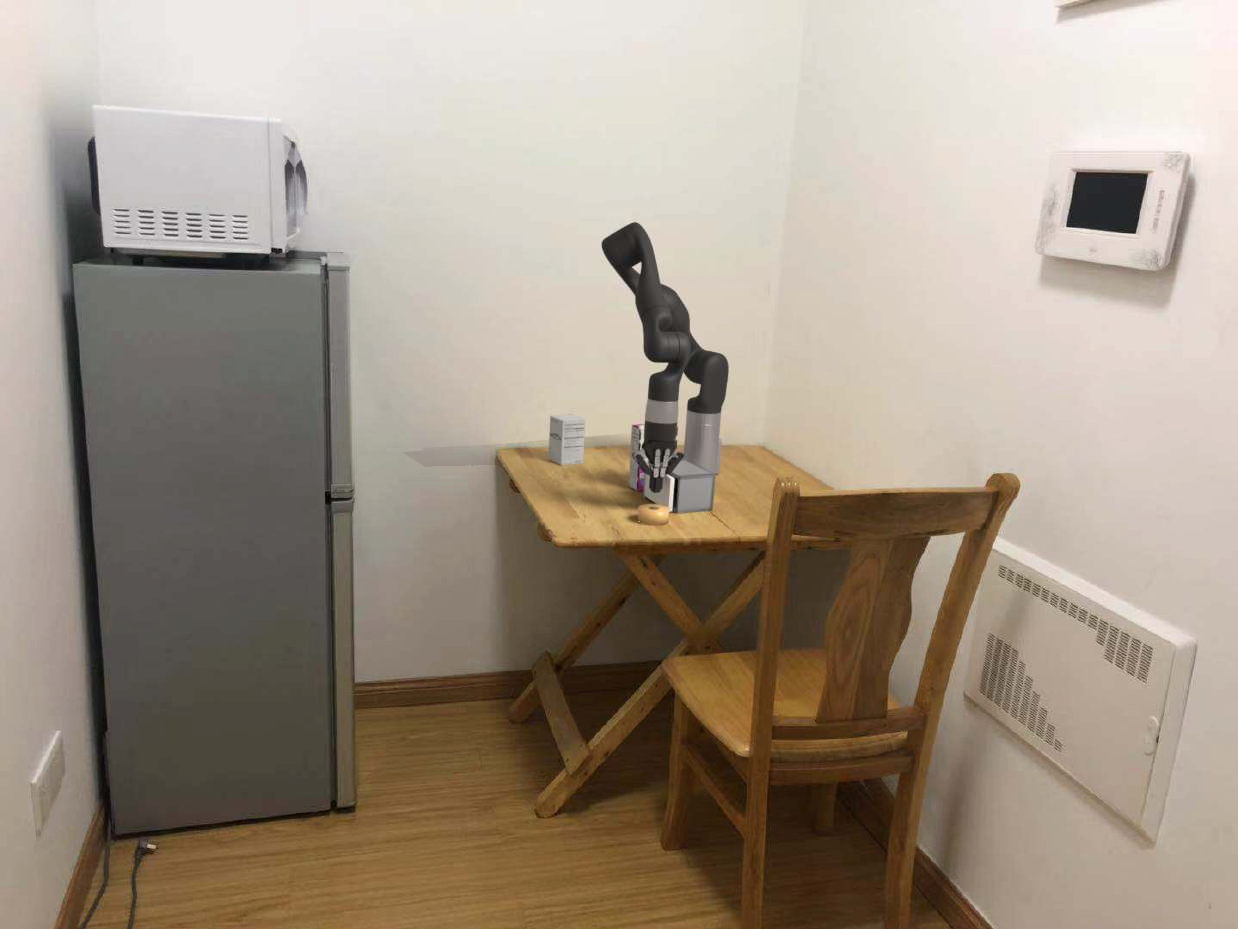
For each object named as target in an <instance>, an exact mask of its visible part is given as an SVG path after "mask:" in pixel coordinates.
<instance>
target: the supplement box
mask: <svg viewBox="0 0 1238 929" xmlns="http://www.w3.org/2000/svg"><path fill="white" fill-rule="evenodd" d="M585 433H586V419H585V418H582V417H580V416H577V415H575V414H573V413H566V414H565V413H564V414H563V413H562V414H552V415H550V416H549V436H548V437H549V439H548V456H547V457H548V461H549V460H550V461H552V462H554V463H556V464H558V465H560V466H571V465H580V464H579V463H581V464H583V463H584V456H585V455H584V454H585V452H584V450H585ZM577 463H578V464H577ZM569 464H570V465H569Z"/></svg>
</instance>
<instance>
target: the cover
mask: <svg viewBox="0 0 1238 929" xmlns="http://www.w3.org/2000/svg"><path fill="white" fill-rule="evenodd" d="M647 465H648V463H647ZM648 466H649V465H648ZM674 480H675V478H673V477H672V476H670V475H668V474H667V475H665V476H664V477H663V487H662V490H660V493H653V492H652V491H651V489H649V481H650V476H649V475H647V474H646V473H644V484H643V491H642V498H644V497H646V498H645V499H649V500H650V501H652V502H654V504H659V505H663V506H666V507H668V508H669V513H670V512H673V511H672V507H673V493H674Z"/></svg>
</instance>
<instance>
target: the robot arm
mask: <svg viewBox="0 0 1238 929" xmlns="http://www.w3.org/2000/svg"><path fill="white" fill-rule="evenodd" d="M601 249H602V253H603V255H604V256H605V258H606V260H607V261H608V262H609V264H610V266H611V267H612V268H613V269H614V271H615V272H616V273H617V274H618V276H619V277H620V278H621V280H622V281H623V282H624V283H625V285H626V286H627V287H628V288H629V290H630V291H631V292H632V294H633V295H634V300H635V308H636V311H637V314H638V316H639V319H640V322H641V325H642V334H643V335H642V336H643V345H642V346H643V347H642V348H643V352H644V356H645V357H646V358H647V359H648V360H649V362H651V363H655V364H656V363H657V364H659V363H660V364H661V363H662V364H665V363H666V364H667V365H666V367H665V368H664V370H663V369H662V370H661V371H658V372H655V373H653V374H651V375H650V376H649V380H648V386H647V387H648V389H647V400H646V404H645V413H644V424H645V425H644V442H643V444H642V449H641V450H639V451H638V452H637V453H636V452H634V453H633V454H632V456H633V458H634V459H635V461H636V462H637V464H638V465H639V467H640V468H641V470H642V471H643V472H644V473H646V474H647V475H649V476H650V481H649V489H651V491H652V492H653V493H660V490H662V487H663V477H664V476H665V475H667V474H671V473H672V472H673V470H674V469H675V468H676V466H677V465H678V464H679V462H680V461H681V460H688V461H690V462H692V463H694V464H696V465H698V466H700V467H702V468H705V469H707V470H709V471H711V472H713V473H715V474H716V475H719V474H720V468H721V458H722V456H721V455H722V444H723V440H722V439H721V438H720V432H721V431H720V429H721V419H722V410H723V405H724V403H725V399H726V396H727V388H728V387H727V386H728V380H729V362H728V359H727V357H726V356H725V355H724V354H722V353H720V352H717V351H716V352H715V351H712V350H708V349H707V350H706V349H704V348H702V347H701V345H700V344H699V343H698V342H697V340H696V339H695V338H694V336H693V334H692V332H691V318H690V313H689V310H688V309H687V307H686V305H685V304H684V303H685V302H684V301H683V300H682V299H681V297H680V296H679V294H678V293H677V291H675V289H673V288H671V287H669V286H668V285H665V284H663V283H662V282H661V280H660V273H659V268H658V263H657V259H656V256H655V255H656V254H655V251H654V247H653V243H652V241H651V238H650V237H649V234H648V233H647V231H646V229H645V228H644V227H643V225H642V224H640V223H639V222H636V221H633V222H630V223H629V224H626V225H625V226H623V227H621V228H620V229H617V230H616V231H615V232H613V233H610V234H609V235H608V236H606V237H605V238H603V239H602V241H601ZM638 264H640V265H641V266H640V272H638V271H637V270H636V269H635V268H634V267H635V266H637V265H638ZM683 375H684V376H685V377H686V378H687V380H689V381H690V382H692V383H694V384H697V385H700V387H699V393H698V394H697V395H696V396H693V397H690V398H689V399H688V400H687V405H686V416H685V418H686V419H685V428H684V429H685V433H684V446H683V451H682V452H681V451H680V450H678V445H677V446H676V443H675V440H676V435H677V426H678V423H679V422H678V420H679V396H680V383H681V381H682V377H683ZM677 436H678V435H677ZM676 447H677V449H676ZM644 454H645V455H646V457H647V459H648V465H649V466H648V465H647V463H646V462H645V460H644V459H645V456H644ZM671 456H672V457H671ZM670 457H671V458H670ZM669 458H670V459H669ZM668 460H669V461H668Z"/></svg>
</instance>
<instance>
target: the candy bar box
mask: <svg viewBox="0 0 1238 929" xmlns="http://www.w3.org/2000/svg"><path fill="white" fill-rule="evenodd" d="M644 425H645V423H640V424H638V423H637V424H632V425H631V434H630V435H631V436H630V458H629V460H630V461H629V482H628V487H629V488H630V487H631V489H632V490H634V491H636V492H643V484H644V472H643V471H642V470H641V468H640V467H639V465H638V464H637V462H636V461H635V459H634V458H633V456H632V454H633V453H634V452H636V453H637V452H638V451H639V450H641V449H642V444H643V442H644ZM678 431H679V425H677V435H676V440H675V443H676V446H677V447H676V449H677V450H678V433H679V432H678ZM644 456H645V459H644V460H645V462H646V463H648V459H647V457H646V455H645V454H644ZM671 457H672V456H671ZM671 457H670V458H671ZM670 458H669V459H670ZM668 461H669V460H668Z"/></svg>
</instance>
